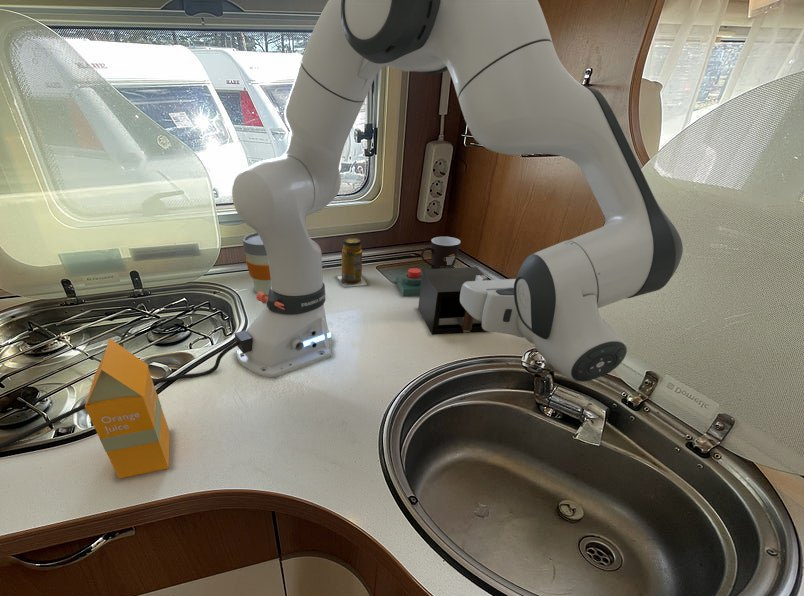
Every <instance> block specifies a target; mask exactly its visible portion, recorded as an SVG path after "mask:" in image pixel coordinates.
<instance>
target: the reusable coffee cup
mask: <svg viewBox="0 0 804 596" xmlns="http://www.w3.org/2000/svg"><path fill="white" fill-rule="evenodd" d="M242 247H243V252H244V253H245V257H246V258H245V261H246V263H245V264H246V266H247V269H248V273H249V276H250V277H251V280H252V283H253V287H254V290H255V293H256V294H257V293H258V292H263V293H264V294H267V295H268V294H269V290H270V286H271V278H270V270H269V263H268V257H267V253H266V249H265V247H264V244H263V242H262V240H261V238H260V236H259V235H258V233H257V232H253V233H249V234H247V235H245V236H244V237H243V238H242Z"/></svg>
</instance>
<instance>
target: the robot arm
mask: <svg viewBox="0 0 804 596" xmlns="http://www.w3.org/2000/svg"><path fill="white" fill-rule="evenodd" d="M384 67H387V68H390V69H393V70H397V71H401V72H405V73H406V72H408V73H409V72H416V73H418V72H420V73H423V74H429V75H435V74H436V75H437V74H441V73H444V72H445V73H446V72H449V74H450V77H451V80H452V83H453V87H454V90H455V93H456V97H457V101H458V103H459V106H460V110H461V112H462V116H463V118H464V121H465V124H466V126H467V128H468V130H469V132H470V134H471V136H472V137H473V140H474V141H475V142H477V143H478V144H479V145H480V146H482V147H484V148H485V149H487V150H488V151H491V152H494V153H497V154H501V155H502V154H503V155H510V156H511V155H512V156H525V155H553V156H558V157H559V156H560V157H563V158H565V159H568V160H570V161H572V162H573V163H575V164H576V165H577V166H578V167H579V169H580V170H581V172H582V174H583V176H584V177H585V180H586V182H587V183H588V186H589V188H590V190H591V192H592V194H593V195H594V198H595V200H596V202H597V204H598V206H599V208H600V211H601V212H602V214H603V216H604V221H605V222H604V225H603V226H601V227H598V228H596V229H593V230H590V231H589V232H586V233H583V234H580V235H578V236H575V237H573V238H571V239H568V240H563V241H561V242H558V243H556V244H553V245H551V246H549V247H546V248H543V249H541V250H538V251H536V252H533V253H532V254H529V255H528V256H527V257H526V258H525V259H524V261H523V262H522V264H521V266H520V268H519V269H518V272H517V275H516V278H506V279H505V278H503V279H489V280H487V278H488V276H486V275H485V274H484V275H476V278H475V281H467V282H465V283H464V284H463V285H462V288H461V292H460V303H461V305H462V306H463V307H464V309H465V310H466V311H467V312H468V313H469V314H470V315H471V316H472V317H473V318H475V319H477V320H479V321H482V328H483V329H484V330H485V331H488V332H487V333H497V334H504V335H505V334H506V335H509V336H514V337H517V338H523V339H525V340H526V341H527V342H529V344H532V345H534V347H535V350H536V351H537V353H538V354H539V355H540V356H541V357H542V358H543V359H544V360H545V361H546V362H547V363H548V364H549V365H550V366H551V367H552V368H554V369H555V370H556V371H557V372H558V373H560V374H561V375H563V376H564V377H565V378H568V379H569V380H572V381H574V382H578V383H579V382H581V383H583V382H589V381H593V380H595V379H599V378H601V377H603V376H606V375H608V374H610V373H612V372H613V371H614V370H615V369H616V368H618V366H620V365H621V363H622V362H623V361H624V359H625V357H626V355H627V353H628V346H627V344H626V342H625V341H624V339H623V337H622V336H621V335H620V334H619V333H618V332H617V331H616V330H615V328H613V326H611V325H610V323H608V322H607V321H606V320H605V319H604V318H602V316H601V314H600V311H599V309H601V308H603V307H605V306H608V305H611V304H614V303H617V302H619V301H623V300H625V299H631V298H635V297H639V296H642V295H646V294H650V293H654V292H656V291H660V290H661V289H663V288H664V287H665V286H667V284H668V283H669V281H670V280H671V279H672V277H673V276H674V275H675V272H676V271H677V269H678V267H679V265H680V264H681V263H680V262H681V260H682V257H683V253H684V252H683V250H684V248H683V247H684V246H683V240H682V238H681V236H680V233H679V231H678V230H677V228H676V226H675V225H674V223H673V222H672V221H671V219H670V218H669V217H668V215H667V214H666V213H665V212H664V210H663V209H662V208H661V206H660V205H659V203H658V201H657V199H656V197H655V195H654V193H653V191H652V189H651V187H650V185H649V183H648V181H647V179H646V176H645V175H644V172H643V170H642V168H641V166H640V164H639V162H638V159H637V157H636V156H635V155H636V154H635V153H634V151H633V149H632V147H631V145H630V142H629V141H628V139H627V137H626V135H625V132H624V130H623V128H622V126H621V124H620V122H619V120H618V118H617V116H616V114H615V112H614V111H613V109H612V107H611V105H610V104H609V102H608V101H607V99H606V98H605V97H604V95H603V94H602V92H600V91H599V89H597V88H595V87H591V86H586V85H583V84H581V83H580V82H579V81H578V80H576V79H575V78H574V77H573V76H572V74H570V73H569V72H568V70H567V69H566V68H565V66H564V65H563V63H562V62H561V60H560V58H559V56H558V54H557V51H556V49H555V46H554V42H553V39H552V35H551V32H550V29H549V25H548V23H547V20H546V18H545V15H544V12H543V9H542V6H541V5H540V2H539V0H328V1H327V2H326V4H325V6H324V8H323V10H322V11H321V14H320V15H319V17H318V19H317V21H316V23H315V26H314V28H313V30H312V32H311V35H310V37H309V39H308V42H307V44H306V47H305V49H304V52H303V55H302V57H301V60H300V63H299V66H298V68H297V72H296V75H295V78H294V82H293V84H292V87H291V90H290V93H289V96H288V99H287V102H286V105H285V108H284V119H285V123H286V125H287V127H288V129H289V131H290V134H289V142H288V146H287V148H286V151H285V152H284V153H283V154H282V155H281V156H279V157H274V158H269V159H266V160H262V161H261V160H260V161H257V162H256V163H253V164H252V165H250V166H249V167H247V168H246V169H244V170H242V171H241V172H240V173H238V175H236V176H235V178H234V181H233V184H232V186H231V187H232V189H231V198H232V204H233V206H234V209H235V212H237V215H238V217H239V218H240V219H241V220H242V221H243V222H244V223H245V224H246V225H247V226H248V227H250V228H252V229H253V230H254V231H255V233H258V235H259V236H260V238H261V240H262V242H263V244H264V247H265V249H266V253H267V257H268V263H269V270H270V278H271V286H270V290H269V294H268V295H267V294H264V293H263V292H258V293H257V292H256V295H255V299H256V301H258V302H261V303H262V304H266V306H265V307H264V308H263V309H262V311H261V312H260V313H259V314H258V315H257V317H256V318H255V319H254V320H253V322H252V323H250V325H249V326H248V327H247V329H246V330H245V329H244V330H241V331H237V332H235V333H234V339H235V342H233V343H232V344H229V346H227V347H225V348H224V349H223V350H221V352H219V354H218V356H217V357H216V360H215V363H214V365H213V366H212V367H211V368H209V369H207V370H206V371H203V372H198V373H197V372H196V373H185V374H178V375H173V376H168V377H164V378H158V379H154V380H153V379H152V381H153V384H154V385H158V384H163V383H164V384H165V383H168V382H174V381H178V380H182V379H184V380H185V379H193V378H199V377H205V376H208V375H211V374H212V373H214V372H215V371H217V369H218V368H219V366H220V363H221V360H222V358H223V357H224V356H225V355H226V354H227V353H228V352H230V351H232V350H233V349H235V348H236V347H237V348H238V349H236V359H237V361H238V362H239V364H241V366H243V367H244V368H245V369H247V370H249V371H251V372H252V373H254V374H257V375H258V376H262V377H266V378H276V377H279V376H282V375H285V374H287V373H291V372H293V371H296V370H299V369H302V368H304V367H307V366H309V365H310V366H311V365H312V364H315V363H318V362H320V361H323V360H325V359H329V358H331V356H332V350H331V346H332V344H333V339H332V332H330V330H329V327H328V322H327V316H326V310H325V302H326V286H325V285H326V284H325V283H324V282H323V281H324V280H323V279H324V278H323V275H324V274H323V252H322V248H321V247H320V245H319V244H318V242H316V241H315V240H313V239H311V236H310V234H309V231H308V228H307V222H306V221H307V220H306V219H307V216H309V215H313V214H315V213H317V212H319V211H321V210H323V209H325V208H326V207H327V206H328V205H329V204H331V202H332V201H333V200H335V198H336V197H337V196H338V195H339V192H340V189H341V185H342V184H341V183H342V177H341V172H340V169H339V168H340V164H341V159H342V154H343V152H344V148H345V145H346V143H347V140H348V138H349V136H350V133H351V131H352V129H353V127H354V124H355V122H356V120H357V118H358V116H359V114H360V111H361V110H362V108H363V105H364V103H365V101H366V98H367V96H368V94H369V92H370V90H371V87H372V86H373V83H374V81H375V79H376V77H377V75H378V74H379V72H380V71H381V70H382V68H384ZM85 405H86V402H84V404H81V405H79V406H77V407H75V408H72V409H70V410H68V411H66V412H64V413H62V414H59V415H57V416H55V417H54V418H52V419H49V420H47V421H45V422H43V423H41V424H39V425H36V426H35V427H33V428H31V429H29V430H26V431H25V432H22V433H20V434H19V435H16V436H14V437H12V438H10V439H7V440H5V441H3V442H0V450H2V449H4V448H5V447H8V446H10V445H12V444H14V443H17V442H19V441H21V440H23V439H25V438H27V437H29V436H32V435H34V434H35V433H38V432H39V431H41V430H43V429H45V428H48V427H49V426H52V425H55V424H57V423H58V422H60V421H62V420H64V419H67V418H68V417H71V416H73V415H74V414H76V413H79V412H81V411H83V410H86V408H85Z"/></svg>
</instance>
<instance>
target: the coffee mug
mask: <svg viewBox="0 0 804 596" xmlns="http://www.w3.org/2000/svg"><path fill="white" fill-rule="evenodd" d="M460 246H461V240H460V239H459V238H456V237H451V236H436V237H433V238H431V240H430V246H429V247H428V246H427V247H425V248H423V249H422V250H421V253H420V258H421V259H422V261H423V262H424V263H426V264H427V265H429V266H430V269H444V268H455V264H456V261H457V256H458V253H459V249H460ZM426 251H430V261H427V260H426V259H425V258H424V253H425V252H426Z"/></svg>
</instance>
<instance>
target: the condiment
mask: <svg viewBox="0 0 804 596" xmlns="http://www.w3.org/2000/svg"><path fill="white" fill-rule="evenodd" d="M362 273H363V249H362V241H361V240H360V239H359V238H356V237H348V238H345V239H344V240H343V241H342V249H341V275H337V276H336V277H337V279H338V280H339V282H340V283H341V285H342V287H346V288H347V287H358V286H367V285H368V283H367V282H366V281H365V280H364V278H363V277H362Z"/></svg>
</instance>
